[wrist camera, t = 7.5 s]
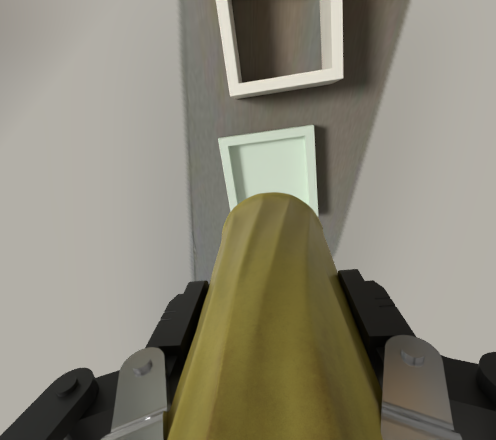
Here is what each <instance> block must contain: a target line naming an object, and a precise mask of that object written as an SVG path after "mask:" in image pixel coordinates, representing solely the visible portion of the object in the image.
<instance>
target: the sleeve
mask: <svg viewBox="0 0 496 440" xmlns="http://www.w3.org/2000/svg"><path fill="white" fill-rule="evenodd" d="M216 4H217V11H218V18H219V25H220V31H221V38H222V45H223V52H224V58H225V65H226V72H227V79H228V85H229V92H230V97H233V98H235V99H240V98H246V97H253V96H259V95H265V94H272V93H278V92H284V91H291V90H297V89H303V88H310V87H316V86H322V85H329V84H333V83H335V82H337V81H339V80H341V79H343V11H342V0H320V22H321V50H322V70H318V71H312V72H306V73H300V74H294V75H288V76H282V77H276V78H270V79H264V80H258V81H251V82H245V83H242V77H241V69H240V62H239V54H238V46H237V39H236V31H235V23H234V16H233V8H232V1H231V0H216Z"/></svg>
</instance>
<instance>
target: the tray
mask: <svg viewBox="0 0 496 440" xmlns="http://www.w3.org/2000/svg"><path fill="white" fill-rule="evenodd" d="M218 141H219V147H220V153H221V158H222V164H223V170H224V176H225V182H226V188H227V194H228V199H229V205H230V211H232V210H233V208H234V207H235V206H237V205H238V204H239V203H240V202H242V201H243V200H245V199H247V198H249V197H251V196H253V195H256V194H260V193H269V192H280V193H286V194H290V195H293V196H295V197H297V198H299V199H300V200H302V201H303V202H305V203H306V204H307V205H309V206H310V207H311V208H312V209H313V210H314V212H315V213H316V215H317V217H318V199H317V179H316V159H315V138H314V125H305V126H298V127H290V128H283V129H276V130H269V131H262V132H255V133H248V134H241V135H234V136H227V137H221V138H218Z"/></svg>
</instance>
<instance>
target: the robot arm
mask: <svg viewBox="0 0 496 440" xmlns="http://www.w3.org/2000/svg"><path fill="white" fill-rule="evenodd" d="M338 277H339V279H340V282H341V284H342V287H343V290H344V292H345V295H346V298H347V300H348V303H349V306H350V309H351V311H352V314H353V317H354V320H355V322H356V325H357V328H358V330H359V333H360V335H361V338H362V341H363V343H364V346H365V349H366V351H367V354H368V356H369V359H370V362H371V364H372V367H373V369H374V372H375V374H376V377H377V379H378V382H379V384H380V386H381V389H382V391H383V394H382V412H381V435H382V438H383V440H496V352H491V353H487V354H484V355H483V356H482V357H481V359H480V361H479V364H475V363H470V362H465V361H461V360H456V359H451V358H447V357H444V356H442V355H440V354H439V352H438V351H437V350H436V349H435V348H434V347H433V346H432V345H431V344H429V343H428V342H426V341H424V340H422V339H420V338H417V337H416V336H415V334H414V333H413V331H412V330H411V328H410V327H409V325H408V324H407V322H406V321H405V319H404V318H403V316H402V315H401V313H400V312H399V310H398V309H397V307H395V304H394V303H393V301H392V300H391V299H390V297H389V295H388V294H387V292H386V290H385V289H384V288H383V287H382V286H380V285H379V284H377V283H376V282H375V281H364V279H363V278H362V276H361V274H360V272H359V271H358V269H352V270H340V271H338ZM208 288H209V284H208V282H207V281H194V282H189V283H188V285H187V288H186V290H185V292H184V294H178V295H177V296H176V297H175V298H174V299H173V300H171V301H170V302H169V304H168V306H167V308H166V310H165V313H164V314H163V315H162V317H161V321H159V323H158V325H157V327H156V329H155V330H154V332H153V334H152V336H151V338H150V340H149V342H148V344H147V345H146V347H145V349H142V350H139V351H137V352H135V353H134V354H132V355H131V356H130V357H129V358H128V359H127V360H126V361H125V362H124V363H123V365H122V367H121V369H120V370H119V371H116V372H113V373H110V374H106V375H103V376H100V377H98V378H95V377H94V375H93V372H92V371H91V370H90V369H88V368H78V369H74V370H72V371H69V372H67V373H66V374H64V375H62V376H61V377H59V378H58V379H57V380H55V381H54V382H53V383H52V384H51V385H50V386H49V387H48V388H47V389H46V390H45V391H44V392H43V393H42V394H41V395H40V396H39V397H38V398H37V399H36V400H35V401H34V402H33V403H32V404H31V405H30V406H29V407H28V408H27V409H26V410H25V412H23V413H22V414H21V415H20V416H19V418H18V419H16V421H15V422H14V423H13V424H12V425H11V426H10V427H9V428H8V429H7V430H6V431H5V432H4V433H3V434H2V435H1V436H0V440H167V435H168V414H169V411H170V408H171V405H172V402H173V399H174V396H175V392H176V389H177V386H178V383H179V380H180V377H181V374H182V371H183V368H184V365H185V362H186V359H187V356H188V353H189V350H190V347H191V344H192V342H193V339H194V336H195V333H196V330H197V326H198V322H199V319H200V315H201V311H202V308H203V304H204V301H205V298H206V295H207V292H208Z"/></svg>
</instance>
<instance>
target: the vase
mask: <svg viewBox="0 0 496 440" xmlns="http://www.w3.org/2000/svg"><path fill="white" fill-rule="evenodd" d="M382 394H383V391H382V389H381V386H380V384H379V382H378V379H377V377H376V374H375V372H374V369H373V367H372V364H371V362H370V359H369V356H368V354H367V351H366V349H365V346H364V343H363V341H362V338H361V335H360V333H359V330H358V328H357V325H356V322H355V320H354V317H353V314H352V311H351V309H350V306H349V303H348V300H347V298H346V295H345V292H344V290H343V287H342V284H341V282H340V279H339V277H338V273H337V270H336V267H335V264H334V261H333V259H332V256H331V253H330V250H329V247H328V245H327V242H326V240H325V237H324V234H323V227H322V225H321V223H320V221H319V219H318V217H317V215H316V213H315V212H314V210H313V209H312V208H311V207H310V206H309V205H307V204H306V203H305V202H303V201H302V200H300V199H299V198H297V197H295V196H293V195H290V194H286V193H280V192H269V193H260V194H256V195H253V196H251V197H249V198H247V199H245V200H243V201H242V202H240V203H239V204H238V205H237V206H235V207H234V208H233V210H232V211H231V212H230V214H229V215H228V217H227V219H226V221H225V224H224V227H223V231H222V242H221V245H220V248H219V252H218V255H217V259H216V262H215V265H214V269H213V273H212V277H211V280H210V284H209V288H208V292H207V295H206V298H205V301H204V304H203V308H202V311H201V315H200V319H199V322H198V326H197V330H196V333H195V336H194V339H193V342H192V344H191V347H190V350H189V353H188V356H187V359H186V362H185V365H184V368H183V371H182V374H181V377H180V380H179V383H178V386H177V389H176V392H175V396H174V399H173V402H172V405H171V408H170V411H169V414H168V435H167V440H383V438H382V435H381V412H382Z"/></svg>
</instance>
